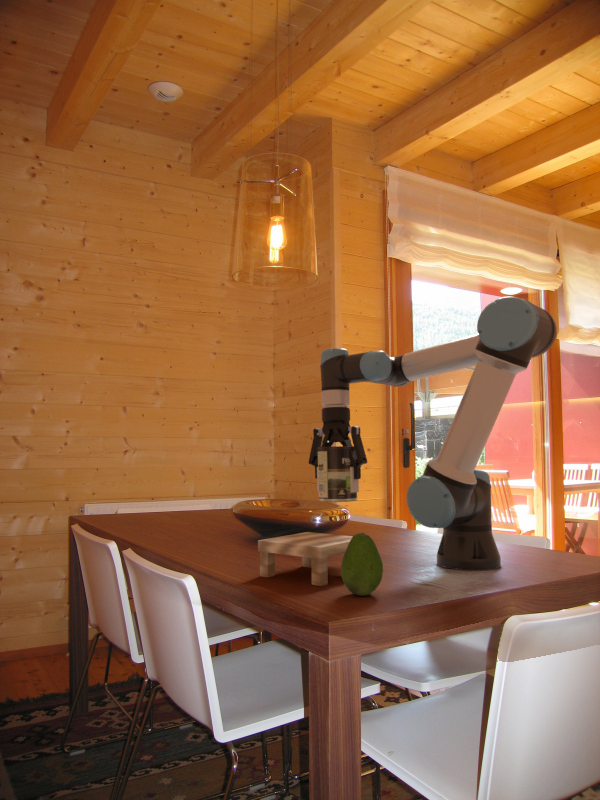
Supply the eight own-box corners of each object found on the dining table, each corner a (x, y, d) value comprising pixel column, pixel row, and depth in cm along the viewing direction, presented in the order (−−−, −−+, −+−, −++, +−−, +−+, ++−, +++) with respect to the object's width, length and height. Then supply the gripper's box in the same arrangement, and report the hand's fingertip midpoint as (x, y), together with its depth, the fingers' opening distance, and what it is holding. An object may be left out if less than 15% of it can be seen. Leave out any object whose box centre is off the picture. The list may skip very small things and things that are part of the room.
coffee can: (365, 499, 161) (363, 446, 162) (343, 502, 153) (342, 446, 154) (332, 498, 167) (331, 447, 168) (310, 501, 159) (309, 447, 160)
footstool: (368, 573, 141) (367, 537, 142) (320, 586, 127) (320, 547, 128) (307, 564, 152) (307, 532, 153) (258, 576, 139) (257, 540, 139)
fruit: (360, 588, 125) (359, 529, 126) (391, 594, 119) (389, 532, 120) (333, 595, 120) (332, 532, 121) (364, 601, 114) (362, 536, 115)
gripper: (379, 405, 158) (382, 491, 156) (311, 410, 172) (312, 490, 170) (363, 403, 152) (366, 493, 150) (294, 409, 167) (295, 491, 164)
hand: (337, 491), depth 160 cm, fingers closed on coffee can, 10 cm apart
